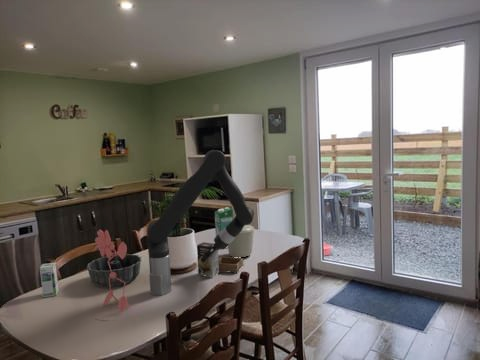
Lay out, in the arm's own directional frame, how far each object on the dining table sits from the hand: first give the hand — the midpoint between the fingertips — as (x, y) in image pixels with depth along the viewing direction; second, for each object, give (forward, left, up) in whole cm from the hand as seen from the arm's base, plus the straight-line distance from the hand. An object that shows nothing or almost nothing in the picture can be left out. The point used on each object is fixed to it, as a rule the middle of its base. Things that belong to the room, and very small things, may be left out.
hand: (205, 258), depth 186 cm
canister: (+32, -8, -9) cm, 34 cm away
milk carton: (+48, +8, -9) cm, 50 cm away
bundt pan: (-18, +42, -9) cm, 47 cm away
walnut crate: (+10, -9, -9) cm, 16 cm away
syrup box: (-40, +62, -9) cm, 75 cm away
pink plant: (-47, +23, -9) cm, 53 cm away
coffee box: (0, -1, -9) cm, 9 cm away
